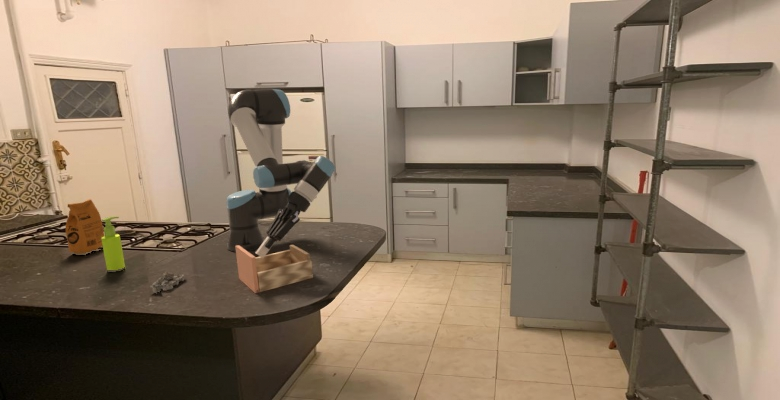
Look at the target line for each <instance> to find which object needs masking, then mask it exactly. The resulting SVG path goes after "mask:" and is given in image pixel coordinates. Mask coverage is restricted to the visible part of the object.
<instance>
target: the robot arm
mask: <svg viewBox="0 0 780 400" xmlns="http://www.w3.org/2000/svg"><path fill="white" fill-rule="evenodd" d="M227 107H228V108H227V114H228V118H229V121H230V122H231V124H232V126H233V127H234V128H236V129H237V130H238V133H239V135H240V137H241V139H242V141H243V143H244V145H245V148H246V150H247V152H248V153H249V156H250V158H251V160H252V162H253V164H254V166H255V167H254V169H253V171H252V175H253V177H252V178H253V179H254V185H255V186H256V187H257V188H258V189H259V191H258V192H256V191H255V190H254V189H245V190H243V189H242V190H240V191H236V192H232V193H231V194H229V195H228V196H227V198H226V209H227V216H228V217H227V218H228V226H229V233H228V234H229V235H228V240H227V243H226V246H227V250H228V251H230V252H235V253H236V248H235V246H237V245H239V246H241V247H242V248H244V249H245V250H246V251H248V252H251V251H255V252H254V253H255V254H256V255H258V257H260V256H261V257H262V258H264V257H265V255H268V253H269V251H270V250H271V249H272V247H273V245H274V244H275V242H281V240H283V238H284V237H285V236H286V235H287V234H288V233H289V232H290V231H291V229H293V227H294V226H295V225H296V224H297V223H299V222H300V220H301V218H300V217H299V216H300V214H301V212H302V213H306V212H307V210H308V209H309V207H310V206H311V203H313V202H314V200H315V199H317V196H318V195H319V193H320V192H321V191H322V189H323V188H324V187H325V186H326V184H327V183H328V182H329V180H330V178H331V177H332V175H333V174H334V172H335V171H336V165H335V163H334V162H332V161H331V159H329V158H327V157H326V156H324V155H318V156H317V157H316V158H315V159H314V161H308V160H305V159H302V160H297V161H295V162H287V163H284V161H283V159H284V158H283V131H282V129H283V128H282V127H283V126H284V125H286V119H288V118H289V117H290V115H291V105H290V100H289V98H288V95H287V94H286V93H285V91H284V90H281V89H276V88H275V89H274V88H262V89H261V88H260V89H259V88H258V89H243V90H240V91H238V92H236V94H234V95H233V97H232V98H230V101H229V103H228V106H227ZM290 185H295V187H294V188H293V190H292V191H291V189H289V188H288V186H290ZM271 218H274V219H273V220H272V222H271V224H270V226H269V227H268V229H267V230H266V234H267V236H266V238H265V237H264V236H263V234H262V231H261V229H260V227H259V221H260V220H265V219H271Z"/></svg>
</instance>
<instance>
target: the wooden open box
mask: <svg viewBox="0 0 780 400" xmlns="http://www.w3.org/2000/svg"><path fill="white" fill-rule="evenodd" d="M310 257H311V256H310V253H309V252H307V251H305V250H304V249H302V248H301V247H298V246H296V245H294V244H290V245H289V249H286V250H283V251H282V250H281V251H277V252H275V253H269V254H268V253H267V254H266V255H265V257H264V258H262V257H261V256H257V257H256V256H255V260H256V269H257V278H258V287H259V292H258V293H262V292H265V291H269V290H272V289H277V288H281V287H283V286H287V285H291V284H294V283H298V282H302V281H303V282H304V281H306V280H309V279H313V278H314V274H313V265H312V264H313V263H312V262H313V261H312V259H311V258H310Z"/></svg>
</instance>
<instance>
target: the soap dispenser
mask: <svg viewBox="0 0 780 400" xmlns="http://www.w3.org/2000/svg"><path fill="white" fill-rule="evenodd" d="M119 218H120V217H119V216H109V217H105V218H103V219H102V218H101V221H102V222H105V227H104V226H103V231H104V236H103V237H102V238H101V240H102V245H103V249H102V251H103V256H104V261H105V267H106V271H107V270H118V269H122V268H124V267H125V268H126V263H125V257H124V252H123V247H122V240H121V235H120V234H118V233H116V230H115V226H114V225H112V222H111V221H112V220H115V219H119Z"/></svg>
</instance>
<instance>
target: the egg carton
mask: <svg viewBox="0 0 780 400" xmlns="http://www.w3.org/2000/svg"><path fill="white" fill-rule="evenodd" d="M184 276H185V274H183V273H182V274H179V273H177V275H176V276H175V275H174V273H172V272H168V271H165V272H163V273H162V274H161V276H160V277H159V278H157V280H156V281H154V282H153V283H152V284H151V285H150V286H149V287H150V288H151V289H152V293H154V292H158V291H161V292H162V291H166V292H167V291H168V290H172V289H174V286H178V285H179V282H184V281H185V277H184ZM170 280H171V281H170ZM169 281H170V282H169Z"/></svg>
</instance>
